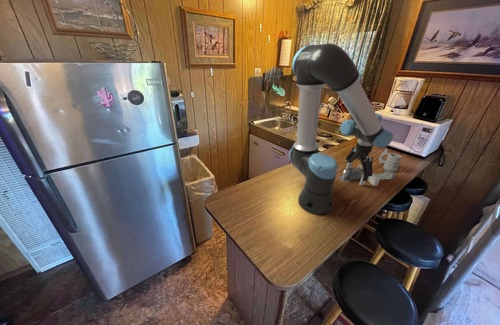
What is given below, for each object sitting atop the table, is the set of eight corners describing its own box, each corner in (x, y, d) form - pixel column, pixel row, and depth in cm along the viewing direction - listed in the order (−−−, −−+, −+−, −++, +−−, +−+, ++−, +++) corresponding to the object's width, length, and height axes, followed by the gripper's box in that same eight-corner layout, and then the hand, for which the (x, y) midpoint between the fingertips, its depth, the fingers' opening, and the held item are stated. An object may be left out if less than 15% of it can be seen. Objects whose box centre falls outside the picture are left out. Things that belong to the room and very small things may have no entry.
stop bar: (348, 180, 110) (351, 169, 107) (345, 177, 113) (348, 166, 110) (363, 179, 111) (366, 168, 108) (359, 176, 114) (362, 165, 111)
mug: (393, 173, 118) (400, 155, 112) (373, 165, 127) (379, 148, 121) (399, 170, 121) (407, 153, 115) (380, 162, 130) (386, 146, 124)
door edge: (374, 185, 106) (376, 179, 104) (355, 170, 120) (357, 165, 118) (377, 185, 106) (379, 179, 105) (358, 170, 120) (360, 164, 118)
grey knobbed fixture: (342, 181, 109) (345, 172, 106) (337, 177, 113) (340, 168, 111) (349, 181, 110) (352, 172, 107) (344, 176, 114) (346, 167, 111)
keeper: (371, 180, 111) (373, 175, 109) (364, 174, 116) (366, 170, 115) (394, 178, 113) (396, 174, 111) (386, 173, 118) (388, 169, 117)
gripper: (389, 153, 92) (375, 190, 102) (357, 135, 113) (347, 167, 124) (375, 154, 91) (362, 191, 101) (344, 135, 113) (336, 167, 123)
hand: (354, 178), depth 112 cm, fingers open, 13 cm apart
